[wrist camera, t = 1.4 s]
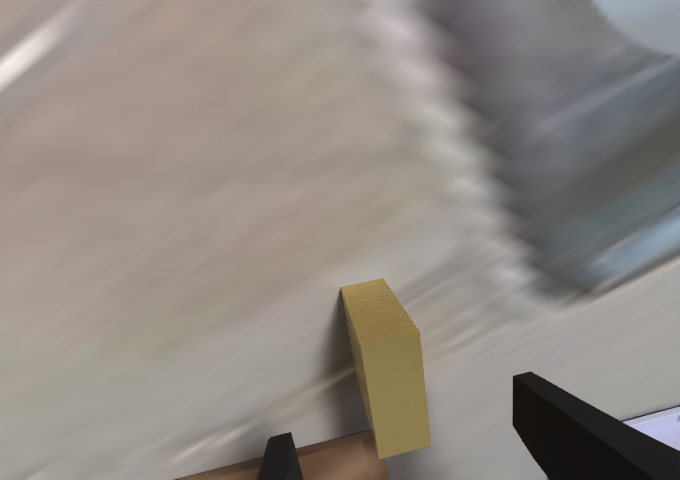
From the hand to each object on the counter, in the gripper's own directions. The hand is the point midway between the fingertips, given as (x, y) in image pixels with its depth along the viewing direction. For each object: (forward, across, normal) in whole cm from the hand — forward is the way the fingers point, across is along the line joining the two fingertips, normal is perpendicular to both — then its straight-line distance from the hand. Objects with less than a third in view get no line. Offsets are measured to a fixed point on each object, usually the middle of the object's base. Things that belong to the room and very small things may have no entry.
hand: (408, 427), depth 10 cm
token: (+6, 0, 0) cm, 6 cm away
